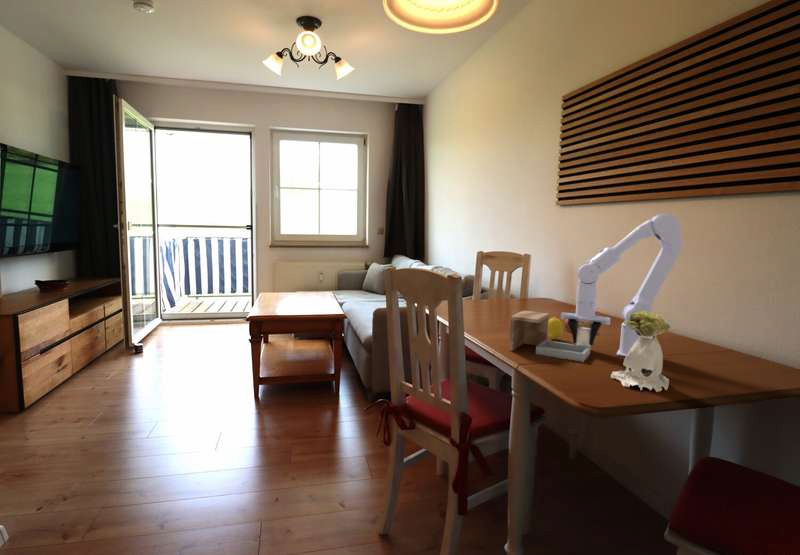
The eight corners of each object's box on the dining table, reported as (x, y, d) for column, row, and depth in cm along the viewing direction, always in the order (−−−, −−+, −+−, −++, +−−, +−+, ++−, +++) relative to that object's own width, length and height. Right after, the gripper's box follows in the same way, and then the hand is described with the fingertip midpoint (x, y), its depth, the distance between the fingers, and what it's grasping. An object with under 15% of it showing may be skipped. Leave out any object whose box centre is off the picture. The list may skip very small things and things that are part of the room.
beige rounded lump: (591, 348, 145) (592, 328, 145) (589, 351, 142) (590, 331, 141) (577, 346, 148) (578, 326, 147) (574, 348, 144) (575, 329, 143)
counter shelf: (546, 346, 148) (549, 313, 146) (536, 355, 137) (538, 319, 136) (521, 342, 152) (523, 310, 151) (509, 350, 142) (511, 316, 140)
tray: (589, 354, 139) (590, 346, 139) (583, 362, 131) (584, 354, 130) (544, 347, 147) (544, 339, 146) (535, 354, 138) (536, 346, 138)
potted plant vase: (647, 374, 121) (653, 307, 119) (680, 391, 108) (687, 316, 106) (605, 374, 120) (610, 307, 118) (633, 391, 107) (639, 316, 105)
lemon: (564, 341, 154) (565, 318, 154) (548, 341, 155) (549, 318, 154) (559, 337, 160) (560, 315, 159) (543, 337, 160) (544, 315, 159)
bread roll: (591, 340, 172) (594, 320, 174) (588, 333, 164) (591, 313, 166) (565, 336, 178) (568, 317, 180) (560, 330, 169) (563, 309, 171)
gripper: (559, 301, 143) (557, 342, 145) (609, 306, 136) (605, 349, 137) (564, 298, 149) (562, 338, 151) (612, 303, 142) (609, 345, 143)
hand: (583, 343), depth 144 cm, fingers closed on beige rounded lump, 4 cm apart
